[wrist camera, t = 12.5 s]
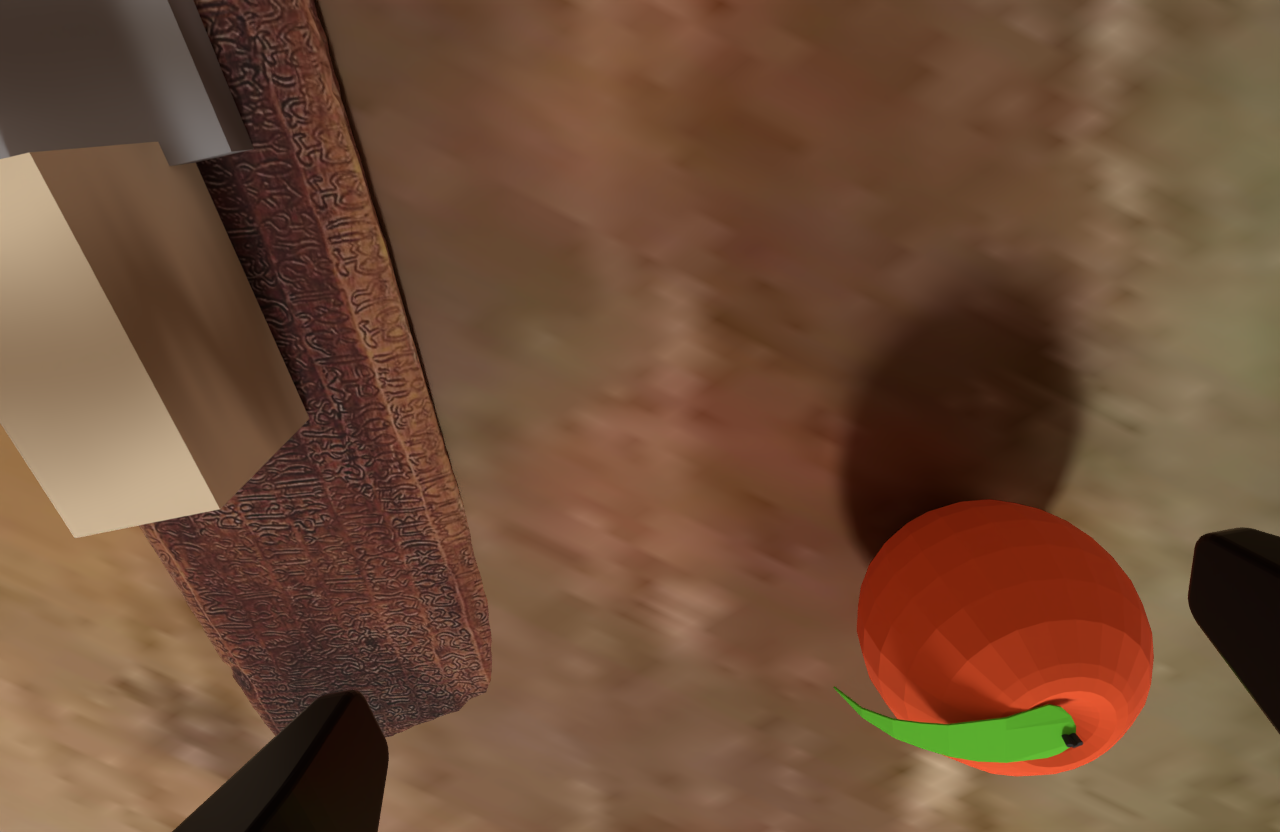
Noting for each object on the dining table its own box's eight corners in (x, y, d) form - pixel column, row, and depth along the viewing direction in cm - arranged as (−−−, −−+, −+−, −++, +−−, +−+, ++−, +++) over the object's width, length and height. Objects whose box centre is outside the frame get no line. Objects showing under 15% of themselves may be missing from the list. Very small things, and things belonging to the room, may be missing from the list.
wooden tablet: (531, 749, 24) (229, 817, 23) (531, 699, 26) (253, 760, 25) (235, -272, 13) (-349, -204, 12) (276, -218, 15) (-223, -158, 14)
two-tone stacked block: (359, 408, 18) (284, 496, 14) (146, 452, 19) (12, 550, 15) (156, -88, 14) (-39, -169, 10) (-119, -18, 14) (-419, -67, 10)
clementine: (806, 663, 23) (878, 877, 17) (780, 487, 21) (853, 663, 14) (1048, 619, 23) (1217, 823, 16) (1054, 433, 20) (1262, 590, 14)
